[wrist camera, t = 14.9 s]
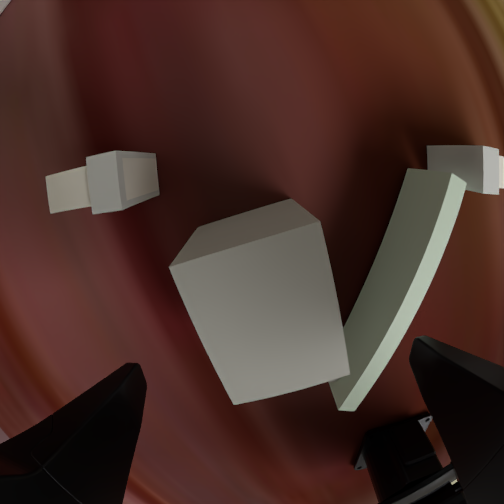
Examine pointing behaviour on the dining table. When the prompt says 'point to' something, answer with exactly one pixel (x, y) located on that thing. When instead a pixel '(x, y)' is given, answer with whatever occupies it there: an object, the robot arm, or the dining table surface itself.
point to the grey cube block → (264, 301)
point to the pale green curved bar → (398, 279)
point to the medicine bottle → (3, 5)
